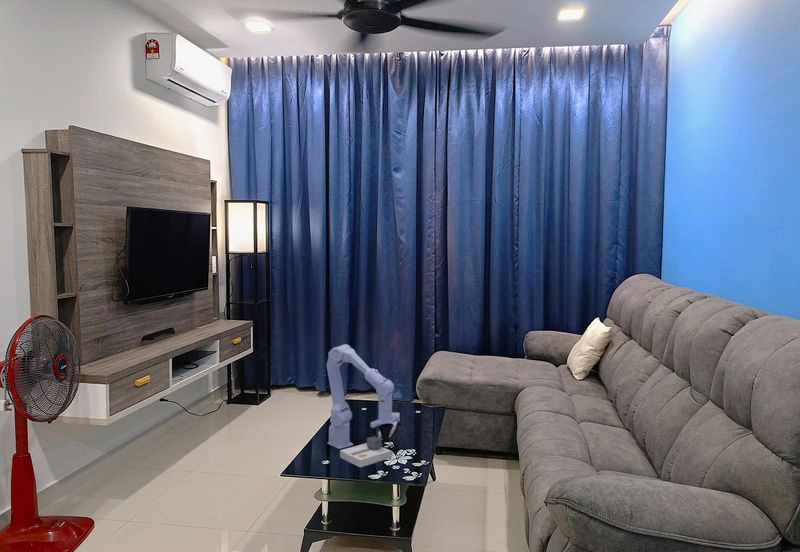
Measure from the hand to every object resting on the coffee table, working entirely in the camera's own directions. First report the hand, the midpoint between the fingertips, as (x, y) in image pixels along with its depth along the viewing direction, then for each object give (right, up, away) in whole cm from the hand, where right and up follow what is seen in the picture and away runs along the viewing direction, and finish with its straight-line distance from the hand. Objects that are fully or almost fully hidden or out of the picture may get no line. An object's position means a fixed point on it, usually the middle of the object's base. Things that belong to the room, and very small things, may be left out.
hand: (385, 440), depth 247 cm
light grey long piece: (+1, -4, +27) cm, 27 cm away
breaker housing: (-8, -5, -7) cm, 12 cm away
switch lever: (-5, -2, -4) cm, 6 cm away
